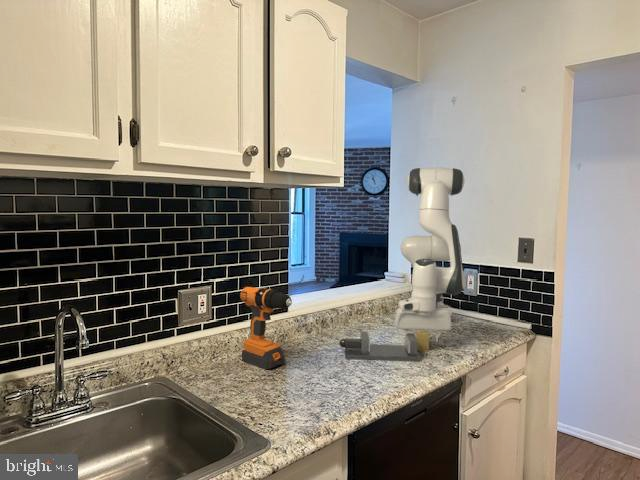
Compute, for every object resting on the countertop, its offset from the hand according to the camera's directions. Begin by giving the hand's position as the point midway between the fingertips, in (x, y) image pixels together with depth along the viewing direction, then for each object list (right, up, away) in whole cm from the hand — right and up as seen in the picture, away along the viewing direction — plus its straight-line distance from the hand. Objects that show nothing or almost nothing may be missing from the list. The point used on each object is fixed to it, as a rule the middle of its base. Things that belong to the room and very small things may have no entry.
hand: (422, 341), depth 162 cm
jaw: (-25, -1, -6) cm, 26 cm away
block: (0, -3, +1) cm, 3 cm away
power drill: (-54, -4, -19) cm, 58 cm away
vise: (-16, -3, -7) cm, 18 cm away
